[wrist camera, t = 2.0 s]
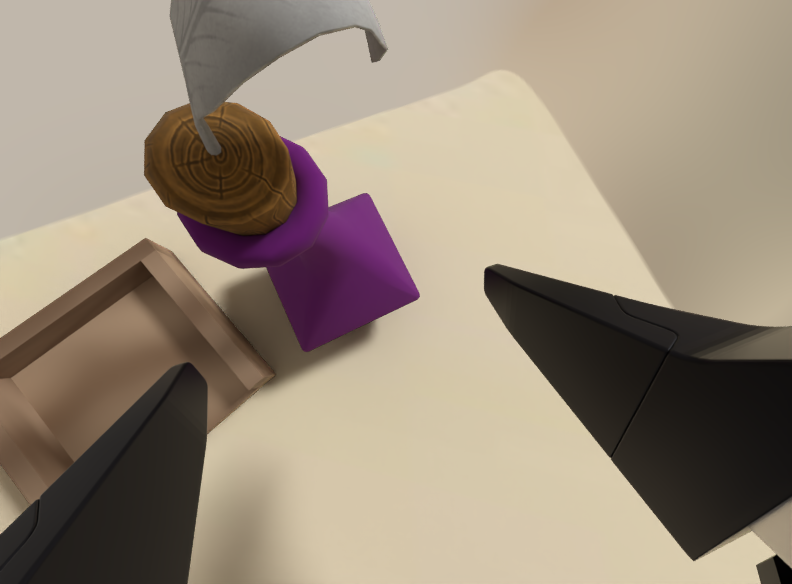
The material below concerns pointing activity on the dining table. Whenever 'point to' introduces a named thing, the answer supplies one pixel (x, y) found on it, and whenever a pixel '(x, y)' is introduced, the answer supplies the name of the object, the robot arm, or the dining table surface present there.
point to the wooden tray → (112, 361)
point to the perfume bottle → (271, 169)
